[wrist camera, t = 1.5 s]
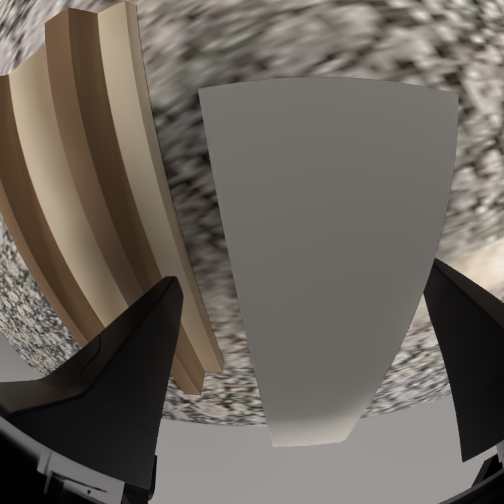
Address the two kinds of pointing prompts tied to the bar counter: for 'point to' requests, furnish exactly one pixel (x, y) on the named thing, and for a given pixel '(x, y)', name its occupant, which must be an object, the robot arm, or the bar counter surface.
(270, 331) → the door panel
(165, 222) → the floor track
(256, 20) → the bar counter surface
